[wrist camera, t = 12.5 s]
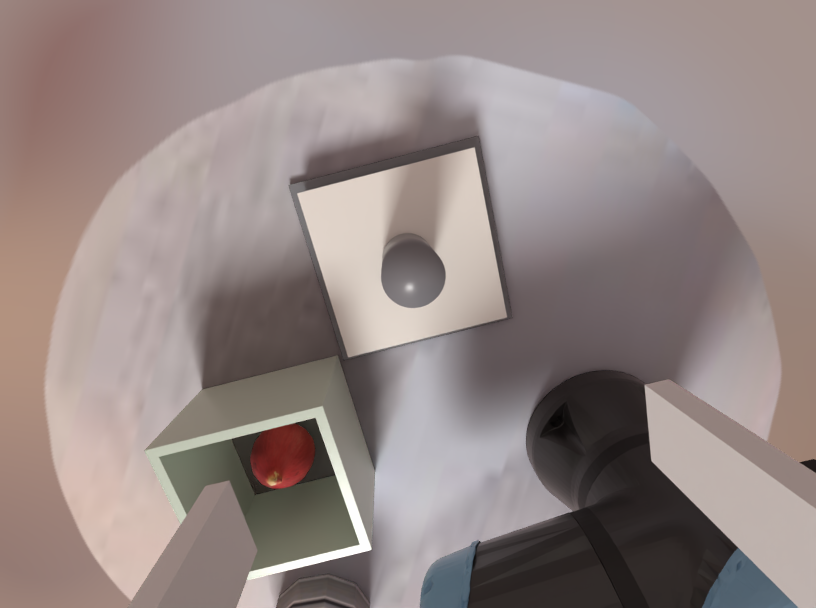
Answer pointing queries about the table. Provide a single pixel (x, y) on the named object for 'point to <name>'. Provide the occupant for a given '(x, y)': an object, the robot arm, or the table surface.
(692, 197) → the table surface
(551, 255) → the table surface
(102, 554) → the table surface
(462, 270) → the lid
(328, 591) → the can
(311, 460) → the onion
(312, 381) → the box
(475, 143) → the mat
